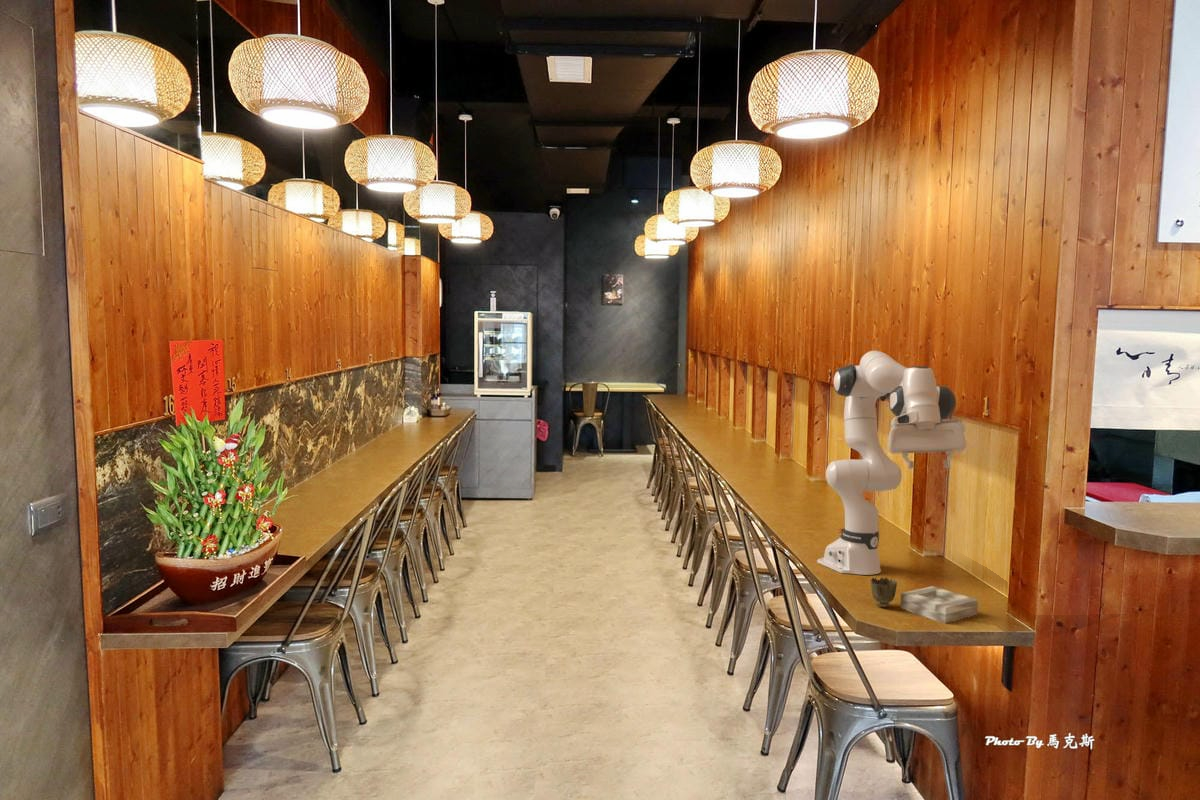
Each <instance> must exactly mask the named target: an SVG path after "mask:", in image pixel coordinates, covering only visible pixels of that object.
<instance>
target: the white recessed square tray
mask: <svg viewBox="0 0 1200 800" xmlns="http://www.w3.org/2000/svg"><path fill="white" fill-rule="evenodd" d="M978 603H979V599H977V598H972V597H969V596H967V595H963V594H960V593H957V592H954V591H950V590H946V589H944V588H940V587H937V586H933V585H932V586H928V587H923V588H917V589H913V590H909V591H904V592H901V593H900V606H899V607H900V609H901V608H902V609H901V610H904V609H905V610H904V611H908V612H910V613H913V614H916V615H918V616H922V617H924V618H928V619H930V620H933V621H936V620H937V621H936V622H938V623H942V624H944V623H946V624H948V622H950V623H952V622H951V621H953V622H957V621H960V619H961V620H964V619H963V618H965V619H967V618H966V617H968V618H971V617H970V616H972V617H975V616H974V615H976V616H978V608H979V607H978V605H979V604H978ZM956 620H957V621H956Z"/></svg>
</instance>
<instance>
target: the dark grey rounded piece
mask: <svg viewBox="0 0 1200 800" xmlns="http://www.w3.org/2000/svg"><path fill="white" fill-rule="evenodd" d="M897 585H898V582H897V581H896V580H893V579H892V578H890V579H889V578H888V577H884V578H883V577H880V579H877V578H876V577H872V578H870V586H871V587H870V588H871V595H872V598H873V599H874V601H876V606H877V607H878V606H879V608H881V607H883V608H882V609H886V608H889V607H890V603H891V602H893V601H894V599H895V597H896V592H897Z"/></svg>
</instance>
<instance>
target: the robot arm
mask: <svg viewBox="0 0 1200 800" xmlns="http://www.w3.org/2000/svg"><path fill="white" fill-rule="evenodd" d="M833 387H834V388H833V389H834V391H835V392H836V394H837V395H838V396H842V397H845V400H844V408H843V409H844V411H843V426H844V429H843V430H844V441H845V444H847V446H848V447H849V448H851V449H853V450H854V451H857V452H858V453H859V455H861V459H850V458H847V459H846V458H844V459H838V460H833V461H831V462H830V463H829V464H828V465H827V466H826V469H825V480H826V482H827V484H828V485H829V487H830V488H832V489H833V490H834V491H835V492H836V493H837V494H838V495H839V497H840V498H841V501H842V504H843V508H844V527H843V528H840V529H838V534H839V533H841V534H840V537H839V538H837V539H836V540H834V541H833V542H831V543H829V544H828V545H826V547H825V550H824V554H823V555H824V556H823V557H820V558H818V559H817V560H816V562H817V564H819V565H822V566H825V567H827V568H829V569H831V570H833V571H836V572H838V573H840V574H854V575H862V576H864V575H867V576H868V575H870V576H871V575H877V574H880V573H881V572H882V569H881V565H880V559H879V557H880V556H879V547H878V546H879V542H880V532H879V514H880V513H879V509H878V507H877V506H876V505H875V504H874V503H872V502H871V501H869V500H867V499H865V498H864V496H863V492H886V491H887V492H888V491H892V490H896V489H897V488H899V486H900V484H901V481H902V478H903V477H902V476H903V475H902V474H903V473H902V471H901V468H900V467H899V465H898V464H897V463H896V462H895V461H894V460H892V459H891V458H890V457H888V455H887V454H886V453H885V451H884V449H883V448H882V445H881V442H880V438H879V432H878V420H877V410H876V403H877V400H878V399H880V401H881V402H885V401H886V400H887V399H888V406H889V410H890V411H891V413H892V414H893V415H894V416H895V417H894V418H892V420H891V423H890V427H891V429H890V432H889V434H888V439H887V440H888V441H887V442H888V445H887V446H888V447H887V448H888V451H889V453H890V454H894V455H895V454H901V456H902V458H903V460H904V461H905V462H906V463H907V469H914V468H915V465H914V460H913V461H912V460H911V459H910V458H909V457H908V456H909V454H917V453H918V454H919V453H921V454H922V453H925V454H926V453H946V456H947V458H946V459H944V460H943V461H942V464H943V468H951V462H950V461H951V458H952V457H953V455H954V452H963V451H964V450H965V449H966V447H967V443H966V437H965V434H964V432H965V424H964V421H962V420H960V419H958V418H949V417H950V416H951V415H952V414H953V413H954V412H955V409H956V406H957V399H956V396H955V394H954V392H953V391H952V390H951V388H950V387H948V386H947V385H938V384H937V382H936V377H935V372H934V370H933V368H931V367H929V366H922V365H921V366H920V365H916V366H909V367H906V366H904V365H902V364H901V363H899V362H898V361H896V360H895V359H893V357H891V356H890V355H889V354H887V353H884V352H882V351H881V350H870V351H867V352H866V353H864V354H863V355H862V357H861V358H860V361H859V365H854V364H852V363H851V364H848V365H845V366H842V367H840V368H838V369H837V370H836V371H835V373H834V377H833Z"/></svg>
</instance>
